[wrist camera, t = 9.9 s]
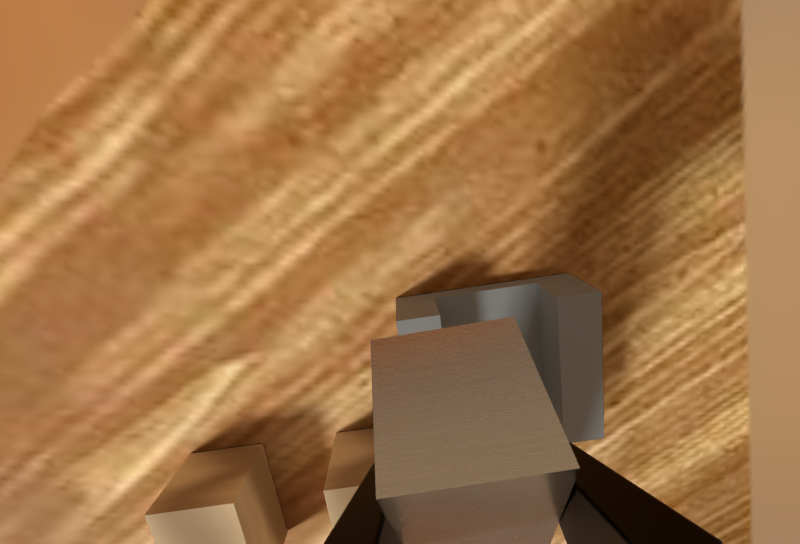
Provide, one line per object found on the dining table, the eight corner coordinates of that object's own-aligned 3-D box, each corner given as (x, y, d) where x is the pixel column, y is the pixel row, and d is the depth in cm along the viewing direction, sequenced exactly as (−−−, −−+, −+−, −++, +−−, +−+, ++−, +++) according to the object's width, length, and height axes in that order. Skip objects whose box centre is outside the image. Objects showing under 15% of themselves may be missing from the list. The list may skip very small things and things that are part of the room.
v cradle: (568, 272, 18) (601, 291, 15) (572, 399, 20) (603, 438, 17) (395, 298, 18) (396, 321, 15) (415, 421, 20) (419, 463, 17)
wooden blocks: (410, 422, 20) (413, 478, 16) (424, 512, 21) (431, 582, 18) (190, 453, 20) (144, 515, 16) (219, 540, 22) (183, 615, 18)
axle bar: (370, 340, 8) (376, 499, 6) (513, 316, 8) (579, 467, 6) (428, 523, 17) (440, 620, 14) (499, 512, 17) (524, 608, 14)
